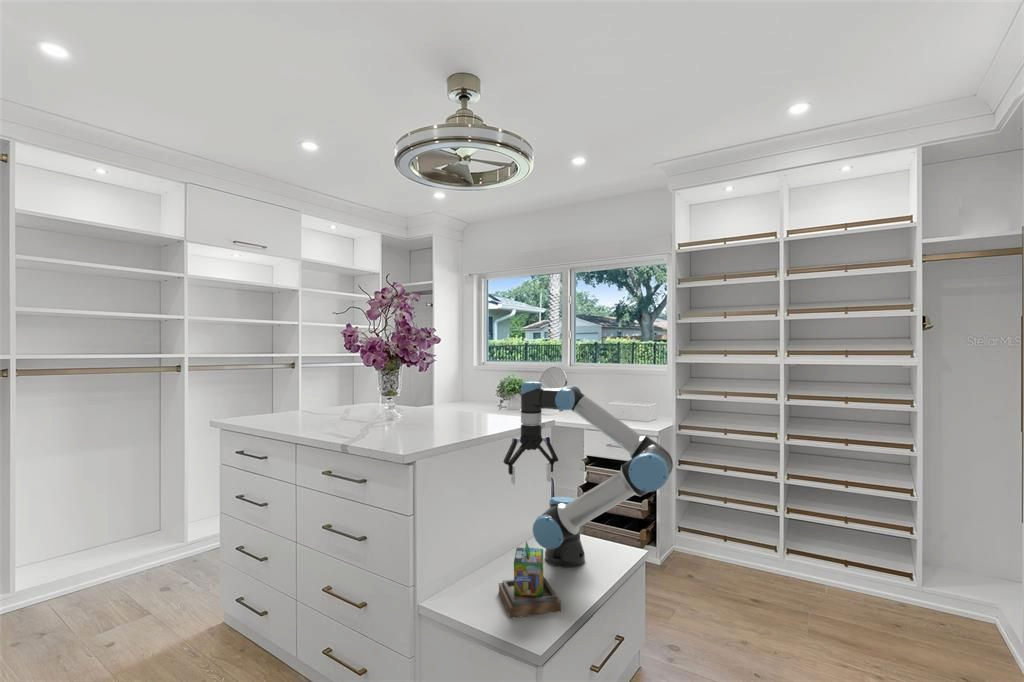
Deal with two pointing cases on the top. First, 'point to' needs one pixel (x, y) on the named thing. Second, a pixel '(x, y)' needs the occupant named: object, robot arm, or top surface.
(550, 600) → the wooden tray
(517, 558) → the chalk box
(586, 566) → the top surface
